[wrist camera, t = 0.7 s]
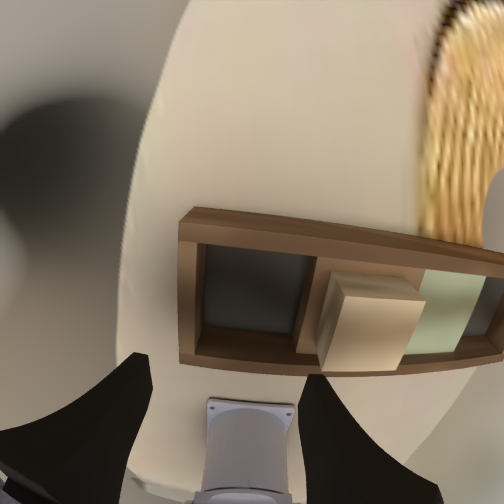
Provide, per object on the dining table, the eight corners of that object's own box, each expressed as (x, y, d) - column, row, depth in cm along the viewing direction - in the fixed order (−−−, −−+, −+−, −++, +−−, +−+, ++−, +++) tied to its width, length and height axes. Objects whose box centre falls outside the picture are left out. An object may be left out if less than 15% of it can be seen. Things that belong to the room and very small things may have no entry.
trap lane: (484, 340, 22) (502, 361, 18) (190, 331, 21) (179, 363, 18) (519, 256, 18) (543, 272, 15) (194, 206, 18) (178, 221, 14)
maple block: (381, 342, 18) (395, 370, 15) (313, 340, 18) (321, 371, 15) (404, 278, 16) (426, 301, 14) (331, 270, 16) (345, 296, 14)
